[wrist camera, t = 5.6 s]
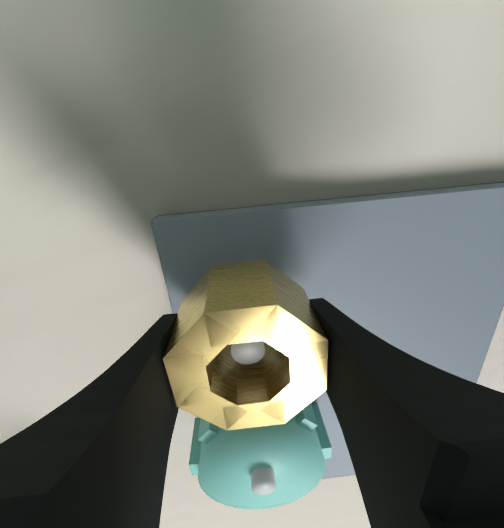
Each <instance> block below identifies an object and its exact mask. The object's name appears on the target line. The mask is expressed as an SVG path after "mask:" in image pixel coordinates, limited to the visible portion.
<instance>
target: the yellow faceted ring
mask: <svg viewBox="0 0 504 528" xmlns="http://www.w3.org/2000/svg"><path fill="white" fill-rule="evenodd" d="M257 341H264V346H265V354H264V356H263V358H262V359H261V360H260V361H258V362H256V363H254V364H241V363H238V362H237V361H235V360H234V359H233V357H232V355H231V344H239V343H248V342H257ZM163 361H164V364H165V368H166V371H167V375H168V378H169V381H170V385H171V388H172V392H173V395H174V398H175V402H176V405H177V407H179V408H181V409H183V410H185V411H187V412H189V413H191V414H193V415H195V416H197V417H199V418H202V419H204V420H206V421H208V422H210V423H212V424H214V425H216V426H218V427H220V428H222V429H225V430H236V429H244V428H253V427H261V426H270V425H279V424H285V423H286V422H288V421H289V420H290V419H291V418H292V417H294V416H295V415H296V414H297V413H299V412H300V411H301V410H302V409H303V408H305V407H306V406H307V405H308V404H310V403H311V402H312V401H313V400H314V399H316V398H317V397H318V396H319V395H321V394H322V393H323V392H324V391H325V390H327V361H328V339H327V337H326V335H325V333H324V331H323V328H322V326H321V324H320V322H319V320H318V318H317V316H316V314H315V312H314V310H313V308H312V305H311V303H310V301H309V299H308V296H307V294H306V292H305V290H304V288H302V287H301V286H300V285H299V284H297V283H296V282H295V281H293V280H292V279H291V278H289V277H288V276H287V275H285V274H284V273H283V272H281V271H280V270H279V269H277V268H276V267H275V266H273V265H272V264H271V263H270V262H268V261H267V260H257V261H248V262H238V263H229V264H220V265H212V266H211V267H210V268H209V270H208V271H207V272H206V273H205V274H204V276H203V277H202V278H201V279H200V280H199V282H198V283H197V284H196V285H195V286H194V288H193V289H192V290H191V291H190V292H189V294H188V295H187V296H186V297H185V298H184V299H183V301H182V302H181V305H180V308H179V311H178V315H177V318H176V322H175V325H174V328H173V330H172V333H171V336H170V339H169V342H168V345H167V348H166V351H165V354H164V357H163Z"/></svg>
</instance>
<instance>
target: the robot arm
mask: <svg viewBox="0 0 504 528" xmlns="http://www.w3.org/2000/svg"><path fill="white" fill-rule="evenodd" d="M309 301H310V303H311V305H312V308H313V310H314V312H315V314H316V316H317V318H318V320H319V322H320V324H321V326H322V328H323V331H324V333H325V335H326V337H327V339H328V361H327V390H326V393H327V395H328V397H329V400H330V402H331V404H332V407H333V409H334V411H335V414H336V416H337V419H338V421H339V424H340V427H341V429H342V433H343V436H344V439H345V442H346V445H347V448H348V451H349V454H350V458H351V461H352V464H353V467H354V471H355V474H356V477H357V481H358V484H359V487H360V490H361V494H362V497H363V501H364V504H365V508H366V511H367V515H368V518H369V522H370V525H371V528H504V393H501V392H498V391H495V390H493V389H490V388H487V387H484V386H482V385H479V384H476V383H474V382H471V381H468V380H466V379H463V378H461V377H458V376H456V375H453V374H451V373H448V372H446V371H444V370H441V369H439V368H437V367H435V366H433V365H430V364H428V363H426V362H424V361H422V360H420V359H417V358H415V357H413V356H411V355H410V354H408V353H406V352H404V351H402V350H400V349H398V348H396V347H394V346H393V345H391V344H389V343H387V342H386V341H384V340H382V339H381V338H379V337H378V336H376V335H374V334H373V333H371V332H370V331H368V330H367V329H365V328H364V327H362V326H361V325H359V324H358V323H356V322H355V321H354V320H352V319H351V318H349V317H348V316H347V315H345V314H344V313H343V312H341V311H340V310H339V309H337V308H336V307H335V306H333V305H332V304H331V303H329V302H328V301H327V300H325V299H324V298H316V299H309ZM177 315H178V313H175V314H166V315H163V316H162V317H161V318H160V319H159V320H158V321H157V322H156V323H155V324H154V325H153V326H152V327H151V328H150V329H149V330H148V331H147V332H146V333H145V334H144V335H143V336H142V337H141V338H140V339H139V340H138V341H137V342H136V343H135V344H134V345H133V346H132V347H131V348H130V349H129V350H128V351H127V352H126V353H125V354H124V355H123V356H121V357H120V358H119V359H118V360H117V361H116V362H115V363H114V364H113V365H112V366H111V367H110V368H108V369H107V370H106V371H105V372H104V373H103V374H101V375H100V376H99V377H98V378H97V379H95V380H94V381H93V382H92V383H90V384H89V385H88V386H86V387H85V388H84V389H83V390H81V391H80V392H79V393H77V394H76V395H75V396H73V397H72V398H70V399H69V400H67V401H66V402H65V403H63V404H62V405H60V406H59V407H57V408H56V409H55V410H53V411H52V412H50V413H49V414H47V415H46V416H44V417H43V418H41V419H40V420H38V421H37V422H35V423H34V424H32V425H30V426H29V427H27V428H26V429H24V430H23V431H21V432H19V433H18V434H16V435H14V436H13V437H11V438H9V439H8V440H6V441H4V442H3V443H1V444H0V528H159V523H160V514H161V506H162V499H163V491H164V483H165V476H166V469H167V462H168V455H169V448H170V443H171V438H172V434H173V429H174V425H175V421H176V417H177V413H178V409H179V407H177V405H176V402H175V398H174V395H173V392H172V388H171V385H170V381H169V378H168V375H167V371H166V368H165V364H164V361H163V357H164V354H165V351H166V348H167V345H168V342H169V339H170V336H171V333H172V330H173V328H174V325H175V322H176V318H177Z"/></svg>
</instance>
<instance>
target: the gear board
mask: <svg viewBox="0 0 504 528" xmlns="http://www.w3.org/2000/svg"><path fill="white" fill-rule="evenodd" d="M151 225H152V229H153V233H154V237H155V241H156V245H157V249H158V253H159V257H160V262H161V266H162V270H163V274H164V278H165V282H166V286H167V290H168V294H169V298H170V303H171V307H172V311H173V314H175V313H178V311H179V308H180V305H181V302H182V301H183V299H184V298H185V297H186V296H187V295H188V294H189V292H190V291H191V290H192V289H193V288H194V286H195V285H196V284H197V283H198V282H199V280H200V279H201V278H202V277H203V276H204V274H205V273H206V272H207V271H208V270H209V268H210V267H211V266H212V265H220V264H229V263H238V262H248V261H257V260H267V261H268V262H270V263H271V264H272V265H273V266H275V267H276V268H277V269H279V270H280V271H281V272H283V273H284V274H285V275H287V276H288V277H289V278H291V279H292V280H293V281H295V282H296V283H297V284H299V285H300V286H301V287H302V288H304V290H305V292H306V294H307V296H308V299H316V298H324V299H325V300H327V301H328V302H329V303H331V304H332V305H333V306H335V307H336V308H337V309H339V310H340V311H341V312H343V313H344V314H345V315H347V316H348V317H349V318H351V319H352V320H354V321H355V322H356V323H358V324H359V325H361V326H362V327H364V328H365V329H367V330H368V331H370V332H371V333H373V334H374V335H376V336H378V337H379V338H381V339H382V340H384V341H386V342H387V343H389V344H391V345H393V346H394V347H396V348H398V349H400V350H402V351H404V352H406V353H408V354H410V355H411V356H413V357H415V358H417V359H420V360H422V361H424V362H426V363H428V364H430V365H433V366H435V367H437V368H439V369H441V370H444V371H446V372H448V373H451V374H453V375H456V376H458V377H461V378H463V379H466V380H468V381H471V382H474V383H477V380H478V377H479V374H480V371H481V369H482V366H483V363H484V360H485V357H486V354H487V352H488V349H489V346H490V343H491V340H492V337H493V335H494V332H495V329H496V326H497V323H498V321H499V318H500V315H501V312H502V309H503V306H504V182H500V183H490V184H480V185H469V186H459V187H449V188H439V189H428V190H418V191H408V192H398V193H388V194H377V195H367V196H357V197H347V198H337V199H326V200H316V201H306V202H296V203H285V204H275V205H265V206H255V207H245V208H234V209H224V210H214V211H204V212H194V213H183V214H173V215H163V216H157V217H156V218H155V219H154V220H153V221H152V222H151ZM264 354H265V346H264V341H257V342H248V343H239V344H231V355H232V357H233V359H234V360H235V361H237V362H238V363H241V364H254V363H256V362H258V361H260V360H261V359H262V358H263V356H264ZM189 467H190V470H191V474H192V475H197V474H198V480H199V484H200V486H201V488H202V489H203V491H204V492H205V493H206V494H207V495H208V496H209V497H211V498H212V499H214V500H215V501H217V502H219V503H222V504H224V505H227V506H231V507H235V508H242V509H265V508H272V507H277V506H281V505H284V504H287V503H290V502H293V501H295V500H297V499H299V498H301V497H303V496H304V495H306V494H308V493H309V492H310V491H311V490H313V489H314V488H315V487H316V486H317V485H318V483H319V482H320V481H321V479H326V478H335V477H343V476H351V475H356V474H355V471H354V467H353V464H352V461H351V458H350V454H349V451H348V448H347V445H346V442H345V439H344V436H343V433H342V429H341V427H340V424H339V421H338V419H337V416H336V414H335V411H334V409H333V407H332V404H331V402H330V400H329V397H328V395H327V393H326V390H325V391H324V392H323V393H322V394H321V395H319V396H318V397H317V398H316V399H314V400H313V401H312V402H311V403H310V404H308V405H307V406H306V407H305V408H303V409H302V410H301V411H300V412H299V413H297V414H296V415H295V416H294V417H292V418H291V419H290V420H289V421H288V422H286V423H285V424H279V425H270V426H261V427H253V428H244V429H236V430H225V429H222V428H220V427H218V426H216V425H214V424H212V423H210V422H208V421H206V420H204V419H202V418H195V423H194V431H193V438H192V445H191V453H190V460H189Z"/></svg>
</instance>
